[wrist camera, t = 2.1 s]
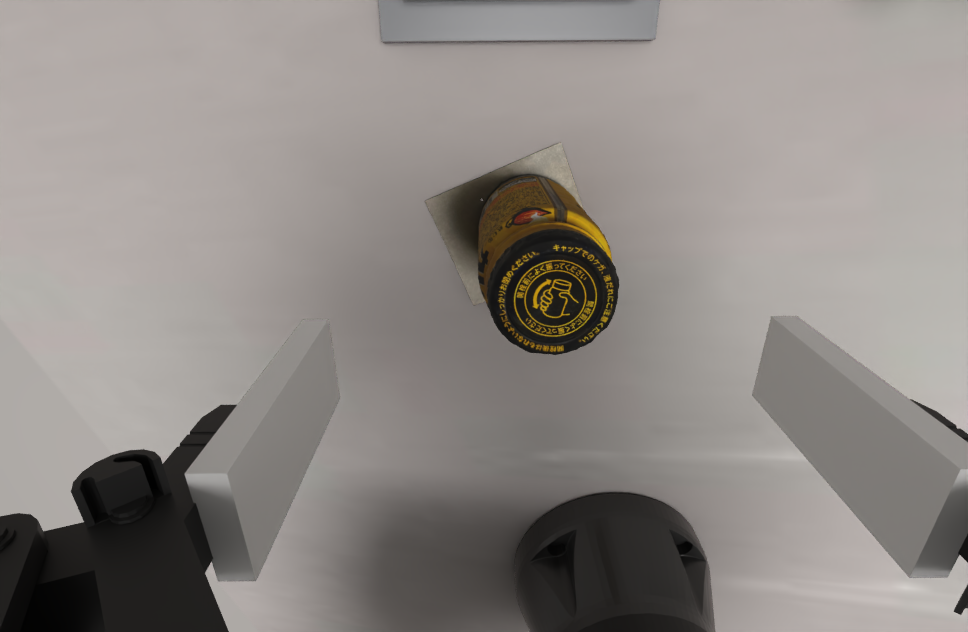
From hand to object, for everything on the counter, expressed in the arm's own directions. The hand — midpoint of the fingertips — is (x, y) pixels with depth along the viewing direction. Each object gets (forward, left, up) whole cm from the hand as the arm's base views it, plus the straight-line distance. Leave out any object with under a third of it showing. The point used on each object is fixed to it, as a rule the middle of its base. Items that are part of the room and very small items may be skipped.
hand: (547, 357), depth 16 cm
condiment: (0, 0, -17) cm, 17 cm away
